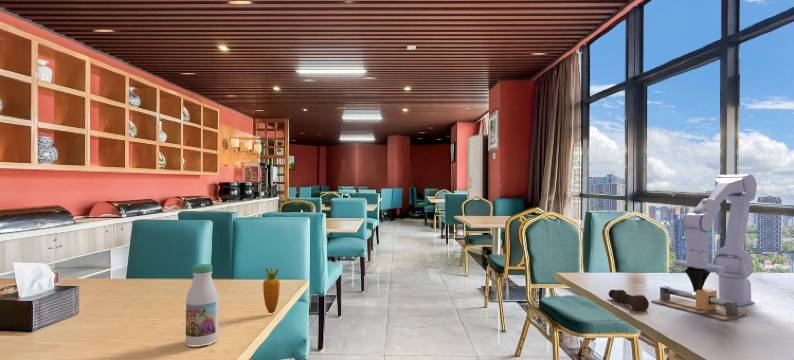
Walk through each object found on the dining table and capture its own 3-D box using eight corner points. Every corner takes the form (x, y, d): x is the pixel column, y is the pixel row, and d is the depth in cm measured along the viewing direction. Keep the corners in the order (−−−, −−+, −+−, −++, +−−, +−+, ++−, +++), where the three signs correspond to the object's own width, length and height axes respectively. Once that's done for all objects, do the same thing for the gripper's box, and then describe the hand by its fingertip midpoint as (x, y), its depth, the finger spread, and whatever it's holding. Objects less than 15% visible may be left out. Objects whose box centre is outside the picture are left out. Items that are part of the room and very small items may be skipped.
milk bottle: (193, 337, 110) (193, 262, 110) (222, 336, 111) (222, 262, 111) (180, 348, 102) (180, 268, 103) (212, 347, 103) (212, 267, 103)
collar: (695, 308, 131) (695, 290, 131) (706, 305, 134) (706, 288, 134) (706, 310, 129) (706, 292, 129) (716, 308, 131) (716, 290, 131)
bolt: (614, 304, 146) (643, 316, 131) (602, 297, 146) (630, 308, 131) (621, 289, 147) (651, 299, 132) (609, 282, 146) (638, 292, 131)
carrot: (283, 313, 130) (283, 266, 131) (272, 318, 126) (272, 269, 126) (270, 311, 132) (270, 265, 133) (259, 316, 128) (259, 268, 128)
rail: (660, 300, 143) (660, 286, 143) (665, 299, 144) (665, 285, 144) (732, 318, 124) (732, 302, 124) (737, 317, 125) (737, 301, 125)
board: (651, 302, 141) (651, 300, 141) (673, 298, 146) (672, 296, 146) (724, 321, 121) (724, 318, 121) (746, 315, 127) (746, 313, 127)
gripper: (666, 247, 139) (667, 288, 138) (715, 254, 125) (715, 298, 125) (679, 246, 142) (680, 285, 141) (728, 252, 128) (728, 296, 128)
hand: (697, 291), depth 134 cm, fingers closed
